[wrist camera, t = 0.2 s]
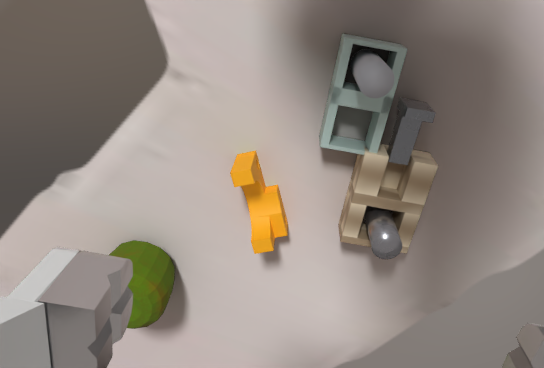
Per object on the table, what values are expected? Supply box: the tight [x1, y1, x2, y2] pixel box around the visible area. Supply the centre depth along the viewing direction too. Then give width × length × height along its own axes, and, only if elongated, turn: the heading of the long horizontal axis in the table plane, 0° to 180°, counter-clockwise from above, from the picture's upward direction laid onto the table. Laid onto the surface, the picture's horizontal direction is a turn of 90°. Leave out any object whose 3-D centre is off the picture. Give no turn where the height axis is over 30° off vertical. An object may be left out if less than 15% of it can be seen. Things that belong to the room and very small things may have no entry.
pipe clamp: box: [230, 151, 288, 254], centre depth 58 cm, size 12×4×6 cm, turn 14°
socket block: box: [338, 144, 438, 254], centre depth 58 cm, size 13×9×4 cm
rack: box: [319, 33, 407, 155], centre depth 50 cm, size 13×7×10 cm, turn 171°
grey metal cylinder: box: [364, 206, 402, 259], centre depth 57 cm, size 4×4×10 cm
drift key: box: [387, 98, 436, 165], centre depth 52 cm, size 8×3×5 cm, turn 171°
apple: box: [109, 241, 175, 329], centre depth 63 cm, size 11×11×11 cm
